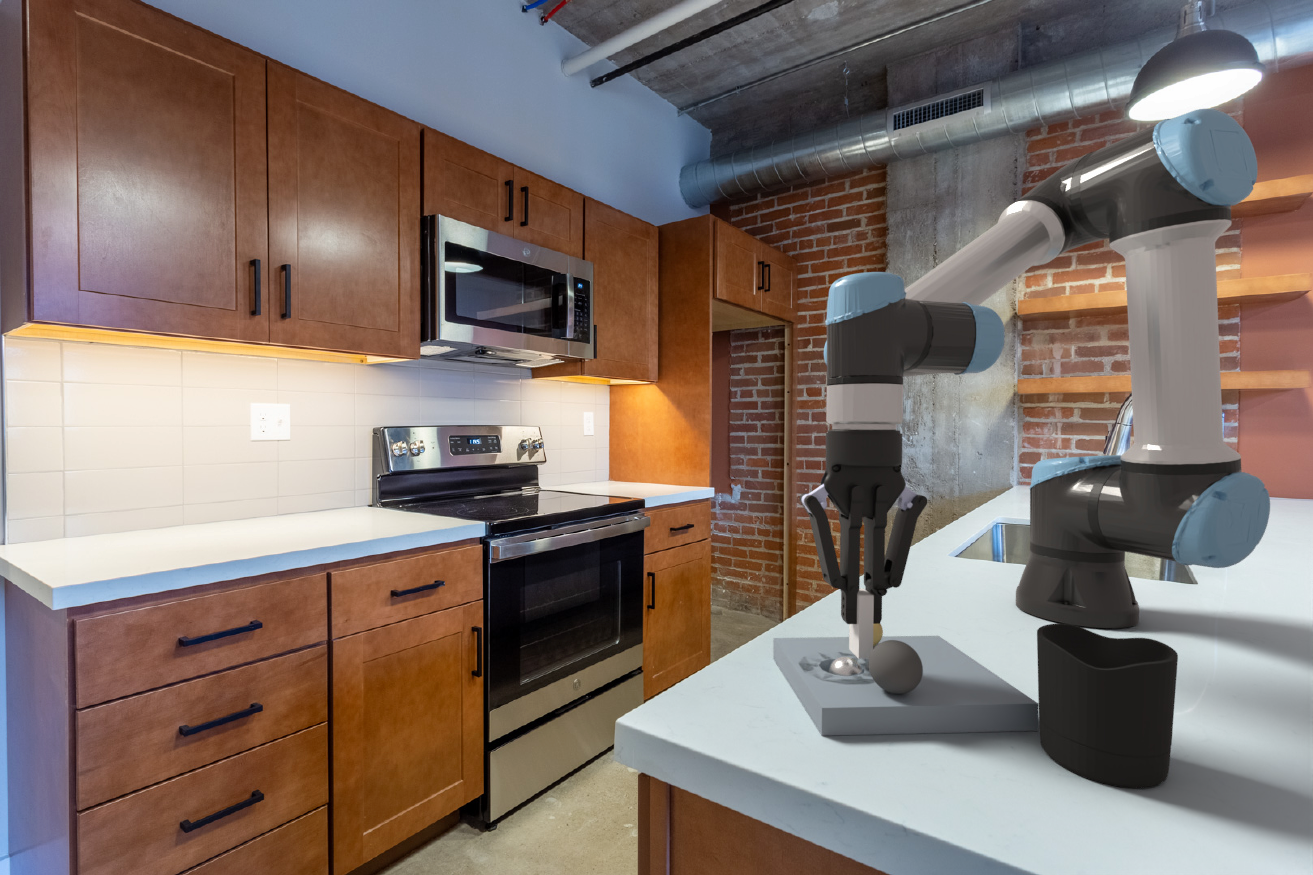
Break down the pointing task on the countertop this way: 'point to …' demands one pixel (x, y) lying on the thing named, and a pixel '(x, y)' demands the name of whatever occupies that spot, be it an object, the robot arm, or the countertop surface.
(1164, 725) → the pen holder
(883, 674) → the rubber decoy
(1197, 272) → the robot arm
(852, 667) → the steel ball
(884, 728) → the plate
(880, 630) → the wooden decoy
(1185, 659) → the countertop surface
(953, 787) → the countertop surface
